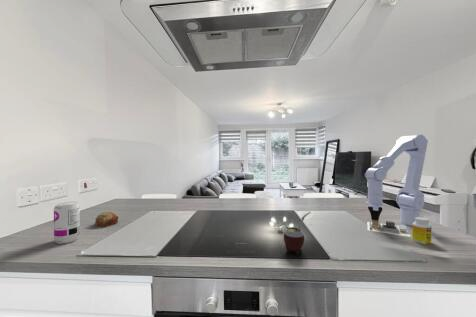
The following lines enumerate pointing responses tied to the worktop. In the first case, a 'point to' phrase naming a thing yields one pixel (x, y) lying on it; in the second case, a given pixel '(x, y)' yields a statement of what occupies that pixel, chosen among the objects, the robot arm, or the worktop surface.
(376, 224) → the tan block
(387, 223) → the black push button
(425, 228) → the supplement bottle
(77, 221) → the supplement can
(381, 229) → the switch board
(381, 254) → the worktop surface
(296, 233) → the mate gourd
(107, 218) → the bread roll
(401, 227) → the grey rocker switch
